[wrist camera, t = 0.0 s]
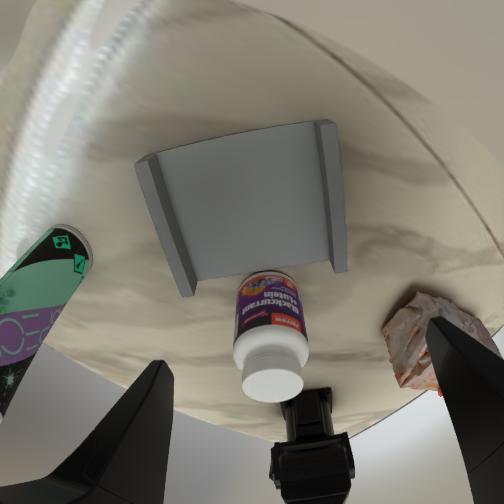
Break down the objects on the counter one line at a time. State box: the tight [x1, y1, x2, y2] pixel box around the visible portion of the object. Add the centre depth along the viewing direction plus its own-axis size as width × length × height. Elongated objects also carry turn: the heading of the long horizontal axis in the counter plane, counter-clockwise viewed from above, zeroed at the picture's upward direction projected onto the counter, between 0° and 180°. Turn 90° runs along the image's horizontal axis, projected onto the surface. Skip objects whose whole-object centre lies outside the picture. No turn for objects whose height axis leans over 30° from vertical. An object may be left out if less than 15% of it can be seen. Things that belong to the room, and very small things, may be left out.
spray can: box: [0, 225, 93, 423], centre depth 16 cm, size 6×6×20 cm
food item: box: [382, 291, 503, 397], centre depth 25 cm, size 14×8×10 cm, turn 69°
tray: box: [134, 119, 348, 297], centre depth 22 cm, size 11×13×2 cm
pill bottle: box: [233, 271, 309, 403], centre depth 23 cm, size 5×5×10 cm
